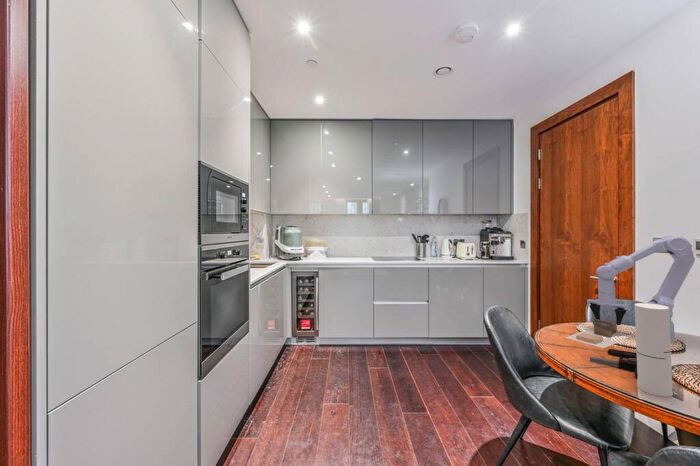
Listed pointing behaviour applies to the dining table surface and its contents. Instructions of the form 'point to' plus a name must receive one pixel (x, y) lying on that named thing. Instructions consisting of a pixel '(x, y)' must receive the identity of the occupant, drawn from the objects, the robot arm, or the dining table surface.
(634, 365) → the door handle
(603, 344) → the mat
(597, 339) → the tile
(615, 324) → the pusher
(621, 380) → the dining table surface
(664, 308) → the cylindrical container
